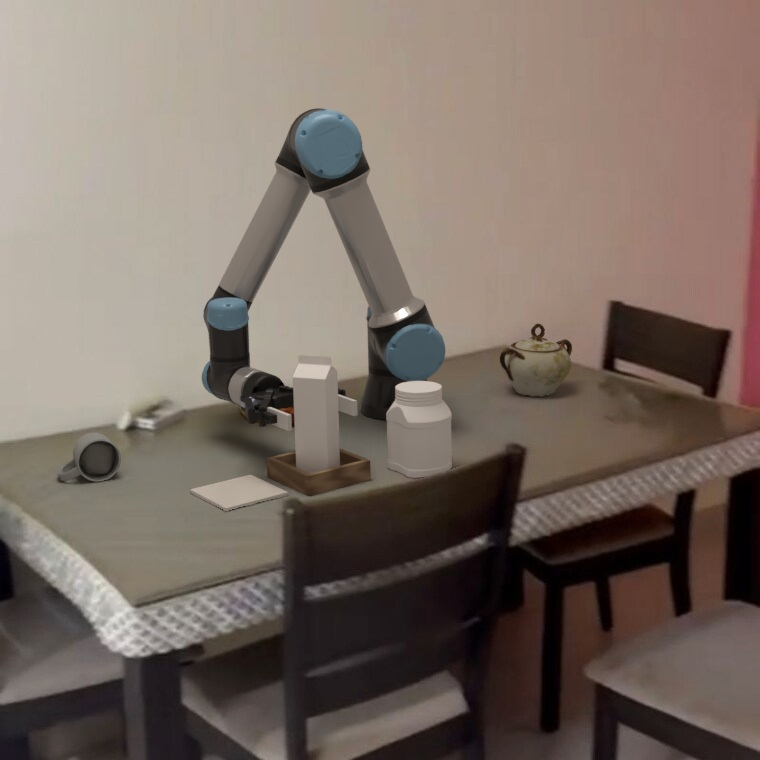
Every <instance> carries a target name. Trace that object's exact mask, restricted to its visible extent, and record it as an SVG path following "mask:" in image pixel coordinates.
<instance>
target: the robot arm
mask: <svg viewBox="0 0 760 760" xmlns="http://www.w3.org/2000/svg"><path fill="white" fill-rule="evenodd" d="M274 166H275V169H276V171H275V174H274V176H273V178H272V180H271V181H270V183H269V185H268V187H267V189H266V191H265V193H264V195H263V197H262V199H261V201H260V203H259V205H258V207H257V209H256V210H255V213H253V214H254V215H253V216H252V218H251V220H250V223H248V226H247V228H246V231H245V232H244V235H243V236H242V238H241V240H240V241H239V244H238V246H237V247H236V251H235V252H234V254H233V256H232V258H231V260H230V261H229V264H228V266H227V267H226V270H225V271H224V274H223V275H222V278H221V279H220V281H219V283H218V286H217V287H216V289H215V291H214V293H213V295H212V296H211V297H210V298H209V299H208V300H207V301H206V303H205V305H204V309H203V315H202V317H203V320H204V323H205V326H206V328H207V332H208V343H209V361H208V362H206V364H205V366H204V368H203V369H202V372H201V383H202V386H203V388H204V389H205V390H206V391H207V392H208V393H209V394H211V395H212V396H214V397H216V398H218V399H219V400H223V401H226V402H230V403H232V404H235V405H237V406H238V407H239V406H241V410H242V411H244V412H245V413H246V417H247V418H246V420H247V423H248V424H250V425H252V424H256V422H257V421H256V420H259V423H258V425H259V428H264V427H267V423H268V424H270V425H272V426H275V427H277V428H280V429H282V430H285V431H287V432H290V431H293V426H292V425H293V423H292V418H291V414H288V413H285V412H283V411H280V410H278V409H279V408H284V409H286V408H288V407H292V408H294V397H293V386H292V387H291V386H288V385H285V383H284V382H283V380H281V378H280V377H278V376H277V375H274V374H271V373H268V372H266V371H263V370H261V369H257V368H255V367H251V355H250V354H251V353H250V333H249V332H250V331H249V328H250V327H249V320H250V316H249V310H250V309H251V307H252V304H253V302H254V301H255V300H254V299H255V298H256V296H257V294H258V293H259V290H260V289H261V286H262V285H263V283H264V281H265V279H266V278H267V277H266V276H268V272H269V271H270V270H271V267H272V266H273V263H274V262H275V259H276V257H277V256H278V254H279V252H280V250H281V249H282V246H283V244H284V243H285V241H286V239H287V237H288V235H289V233H290V230H291V229H292V227H293V225H294V223H295V221H296V220H297V218H298V216H299V213H300V212H301V210H302V208H303V206H304V204H305V202H306V201H307V198H308V195H309V194H310V192H311V193H312V194H313V195H315V196H317V197H319V198H322V199H323V200H324V202H325V205H326V208H327V210H328V211H329V214H330V217H331V219H332V221H333V223H334V226H335V229H336V231H337V233H338V236H339V238H340V241H341V242H342V245H343V248H344V250H345V252H346V254H347V257H348V259H349V262H350V264H351V266H352V269H353V272H354V274H355V276H356V278H357V280H358V283H359V286H360V288H361V290H362V293H363V295H364V297H365V300H366V302H367V304H368V306H367V313H366V314H367V315H366V316H365V319H366V322H367V323H366V324H367V325H366V326H367V328H366V329H367V359H368V361H367V363H368V366H367V367H368V369H367V370H368V375H367V379H366V383H365V386H364V389H363V395H362V397H361V400H360V412H361V413H362V414H363V416H366V417H368V418H373V419H377V420H384V421H385V420H386V413H387V411H388V410H389V408H390V407H391V405H392V404H393V402H394V401H395V398H396V397H395V387H396V385H398V384H400V383H403V382H409V381H428V379H430V378H431V377H433V375H435V374H436V373H437V372H438V371H439V370H440V369H441V367H442V365H443V363H444V360H445V357H446V344H445V340H444V337H443V335H442V334H441V333H440V331H439V330H438V329H437V328H436V327H435V325H434V322H433V320H432V318H431V315H430V312H429V310H428V308H427V306H426V302H425V300H423V299H421V298H419V297H416V296H415V295H414V294H413V292H412V289H411V287H410V284H409V282H408V280H407V276H406V275H405V272H404V270H403V268H402V264H401V261H400V260H399V258H398V255H397V253H396V250H395V248H394V245H393V243H392V240H391V238H390V236H389V233H388V230H387V228H386V226H385V224H384V220H383V219H382V215H381V214H380V211H379V208H378V207H377V203H376V201H375V199H374V196H373V194H372V191H371V189H370V186H369V184H368V182H367V181H368V180H367V179H368V177H369V174H370V171H371V168H370V165H369V163H368V160H367V157H366V154H365V151H364V150H363V141H362V136H361V132H360V130H359V128H358V127H357V125H356V123H354V121H352V119H350V118H349V117H348V116H347V115H345V114H343V113H342V112H339V111H338V110H333V109H328V108H327V109H326V108H322V107H321V108H320V107H319V108H311V109H307V110H306V111H303V112H302V113H300V114H299V115H298V116H297V117H295V119H294V121H293V122H292V124H291V125H290V128H289V130H288V132H287V134H286V137H285V139H284V142H283V145H282V147H281V149H280V152H279V154H278V156H277V158H276V159H275V161H274ZM346 391H347V390H346V389H343V388H341V389H340V388H339V387H338V412H341V413H344V414H346V415H348V416H349V415H350V416H352V417H356V416H357V417H358V400H356V399H355V398H354V399H353V398H350V397H349V396H348V397H347V395H346ZM386 421H387V420H386Z"/></svg>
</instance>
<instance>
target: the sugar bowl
mask: <svg viewBox="0 0 760 760" xmlns="http://www.w3.org/2000/svg"><path fill="white" fill-rule="evenodd" d="M538 328H539V329H540V333H539V334H536V330H537V329H538ZM545 329H546V328H545V327H544V325H543V324H542V323H535V324H534V325H533V326H532V327H531V330H530V334H531V336H530V337H529V338H525V339H521V340H519V341H515V342H513V343H511V345H509V347H505V349H503V350H502V351H501V353H500V356H499V362H500V365H501V368H502V371H503V373H504V375H505V376H506V378H507V379H508V381H509V382H510V384H511V386H512V387H513V389H514V391H515V392H516V393H517V394H520V395H521V396H522V395H523V396H526V395H530V396H529V397H535V396H540V397H544V396H543V395H548V394H551V395H553V394H554V393H555V392H556V390H557V389H559V387H560V385H561V384H562V383H563V382H564V381H565V380H566V378H567V376H568V375H569V373H570V371H571V369H572V360H571V357H570V356H571V355H572V351H573V344H572V342H571V341H570V340H568V339H567V338H566V339H565V338H564V339H561V340H558V341H556V342H555V341H553V340H550V339H548V338H544V337H545V334H546V333H545V332H546V330H545ZM552 393H553V394H552ZM541 395H542V396H541ZM548 396H549V395H548Z"/></svg>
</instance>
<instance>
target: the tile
mask: <svg viewBox="0 0 760 760" xmlns="http://www.w3.org/2000/svg"><path fill="white" fill-rule="evenodd" d="M189 493H190V494H191V495H193V496H195V497H197V498H199V499H201V500H203V501H205V502H207V503H209V502H210V503H211V505H212V504H213V506H214V505H215V507H216V506H217V507H216V508H218V507H219V508H218V509H220V508H221V509H220V510H222V509H223V510H222V511H224V512H226V511H227V512H230V511H229V510H231V511H233V510H232V509H235V508H238V507H242V506H245V505H248V504H254V503H257V502H261V503H263V502H262V501H265V502H267V501H266V500H269V501H271V499H273V500H276V498H277V499H280V498H284V497H287V496H289V492H288V491H286V490H285V489H282V488H280V487H278V486H276V485H273V484H271V483H270V482H268V481H265V480H263V479H261V478H259V477H257V476H254V475H252V474H247V475H244V476H239V477H235V478H232V479H227V480H223V481H219V482H215V483H211V484H206V485H203V486H202V485H201V486H198V487H194V488H190V489H189ZM210 503H209V504H210ZM254 505H255V504H254ZM242 508H243V507H242ZM235 510H236V509H235Z"/></svg>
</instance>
